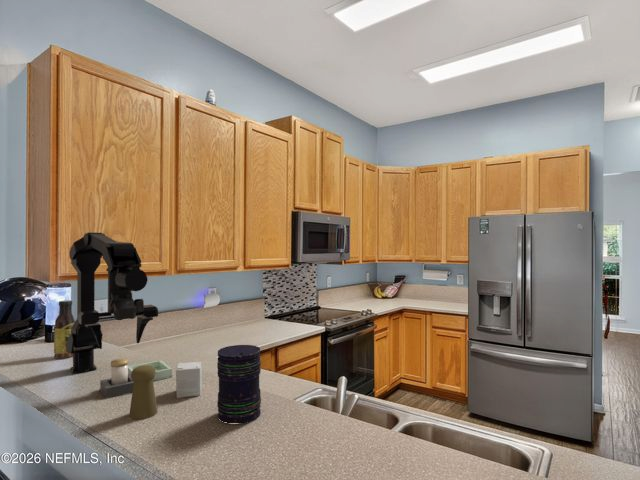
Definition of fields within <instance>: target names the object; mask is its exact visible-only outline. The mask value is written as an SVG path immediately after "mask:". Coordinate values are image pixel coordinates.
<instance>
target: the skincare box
mask: <svg viewBox="0 0 640 480" xmlns="http://www.w3.org/2000/svg"><path fill="white" fill-rule="evenodd" d="M202 378H203V377H202V361H192V362H181V363H180V362H179V363H178V365H177V368H176V370H175V381H176V382H175V384H176V385H175V386H176V399H179V398H188V397H189V398H190V397H196V396H197V397H198V396H201V393H202V386H203V385H202V384H203V383H202Z"/></svg>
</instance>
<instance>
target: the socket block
mask: <svg viewBox="0 0 640 480" xmlns="http://www.w3.org/2000/svg"><path fill="white" fill-rule="evenodd" d="M99 384H100V385H99V386H100V387H99V389H100V391H101V393H102V395H103V396H104V397H105V399H109V398H115V397H118V396H122V395H127V394H132V391H133V384H134V382H133V381H132V379H131V374H130V375H128V382H127V383H122V384H117V385H113V386H111V377H109V378H105V379H100V382H99Z"/></svg>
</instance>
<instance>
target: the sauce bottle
mask: <svg viewBox="0 0 640 480" xmlns="http://www.w3.org/2000/svg"><path fill="white" fill-rule="evenodd" d="M58 305H59V306H58V307H59V310H58V314H59V315H57V317H56V318H55V321H54V339H53V340H54V342H53V353H54V358H55V359H59V360H60V359H68V358H73V354H70V353H68V352H66V343H67V340H68V338H69V335H70V334H71V327H72V326H73V324H74V323H75V321H76V319H75V318H74V315H73V311H72V306H73V300H71V299H69V300H66V299H65V300H60V301H58Z"/></svg>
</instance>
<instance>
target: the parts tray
mask: <svg viewBox="0 0 640 480" xmlns="http://www.w3.org/2000/svg"><path fill="white" fill-rule="evenodd" d="M143 365H150V366H153V367H154V369H155V377H154V379H153V382H156V381H160V380H165V379H169V378H172V377H173V368H172V367H171V366H170V365H168V364H166V363H165V361H163V360H161V359H160V360H156V361H150V362H145V363H144V362H143V363H139V364H132V365H128V375H130V374H131V373H132V371H133V369H134V368H136V367H139V366H143Z"/></svg>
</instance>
